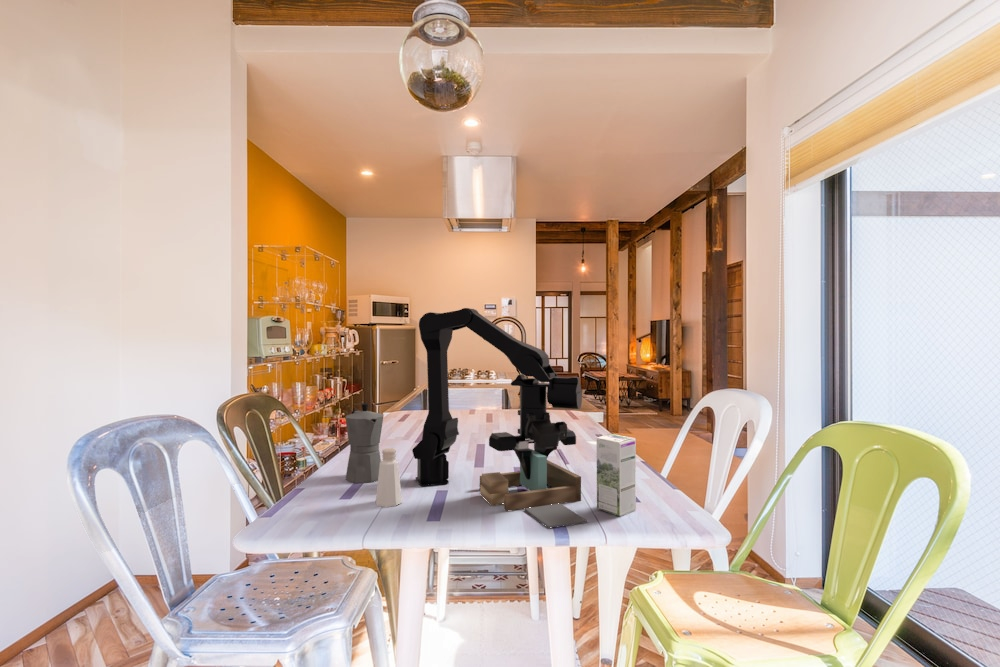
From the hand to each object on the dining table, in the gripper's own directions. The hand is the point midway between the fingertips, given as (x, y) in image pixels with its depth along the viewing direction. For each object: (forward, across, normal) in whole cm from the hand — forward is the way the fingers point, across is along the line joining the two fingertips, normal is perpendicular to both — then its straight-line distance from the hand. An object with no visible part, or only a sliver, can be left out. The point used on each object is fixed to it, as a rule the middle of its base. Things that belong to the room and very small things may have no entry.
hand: (532, 478), depth 108 cm
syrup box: (+4, +11, -15) cm, 19 cm away
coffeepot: (+4, -32, +27) cm, 43 cm away
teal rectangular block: (+2, 0, 0) cm, 2 cm away
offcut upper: (+1, -9, 0) cm, 9 cm away
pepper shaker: (+4, -30, +6) cm, 31 cm away
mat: (+3, -2, -14) cm, 14 cm away
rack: (+3, -1, 0) cm, 4 cm away
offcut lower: (+4, -9, 0) cm, 10 cm away
